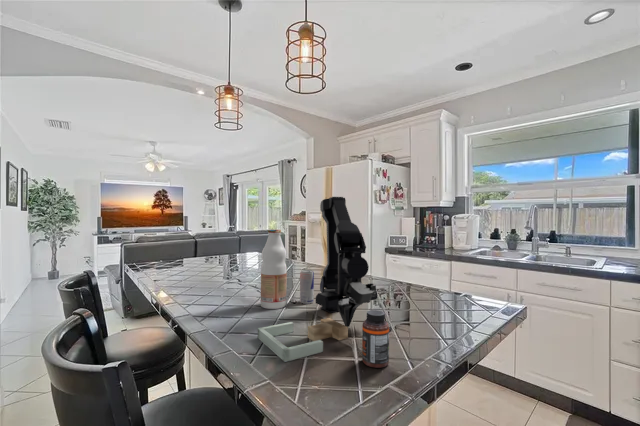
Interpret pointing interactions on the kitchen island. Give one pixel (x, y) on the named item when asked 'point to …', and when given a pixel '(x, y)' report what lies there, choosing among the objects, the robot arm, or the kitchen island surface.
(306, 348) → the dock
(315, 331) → the t block
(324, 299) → the robot arm
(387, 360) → the supplement bottle
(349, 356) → the kitchen island surface
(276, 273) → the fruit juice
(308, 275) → the energy drink
